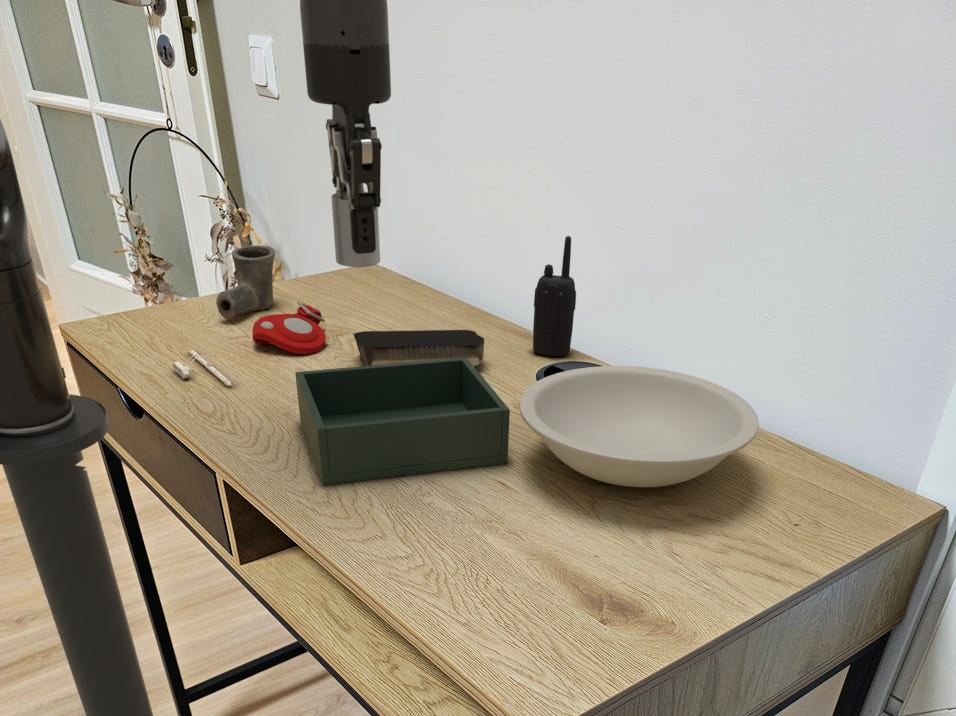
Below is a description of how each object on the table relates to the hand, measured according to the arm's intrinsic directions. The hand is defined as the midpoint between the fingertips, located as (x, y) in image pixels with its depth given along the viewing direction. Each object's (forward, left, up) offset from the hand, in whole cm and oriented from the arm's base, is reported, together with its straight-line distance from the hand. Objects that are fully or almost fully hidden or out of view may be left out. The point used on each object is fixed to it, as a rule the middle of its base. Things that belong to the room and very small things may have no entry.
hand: (359, 245), depth 88 cm
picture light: (-18, +22, -20) cm, 35 cm away
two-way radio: (+29, +18, -20) cm, 39 cm away
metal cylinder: (0, 0, -2) cm, 2 cm away
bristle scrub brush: (+11, +19, -20) cm, 29 cm away
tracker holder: (-3, +31, -20) cm, 37 cm away
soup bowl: (+25, -16, -20) cm, 35 cm away
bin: (+3, -4, -20) cm, 20 cm away
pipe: (-8, +46, -20) cm, 51 cm away
